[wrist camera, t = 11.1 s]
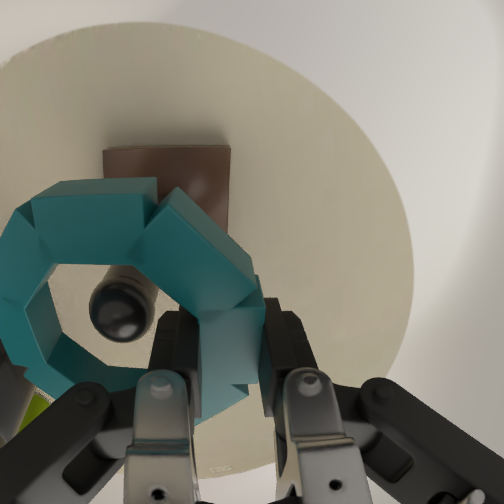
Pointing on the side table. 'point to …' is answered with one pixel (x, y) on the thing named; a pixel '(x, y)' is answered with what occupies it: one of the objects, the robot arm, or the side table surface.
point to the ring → (143, 259)
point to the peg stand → (168, 177)
